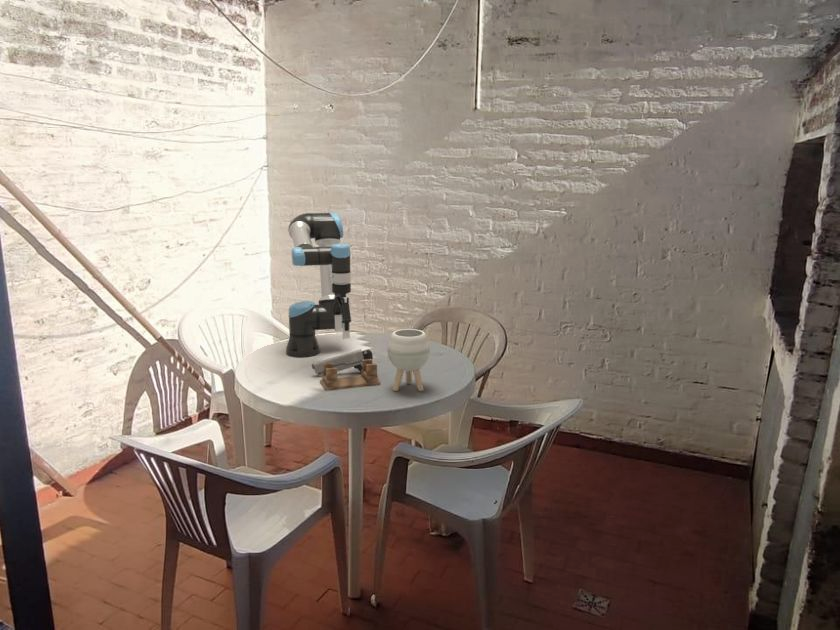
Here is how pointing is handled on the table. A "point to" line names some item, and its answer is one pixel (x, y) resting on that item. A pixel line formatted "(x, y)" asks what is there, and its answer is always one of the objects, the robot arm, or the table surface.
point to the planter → (408, 355)
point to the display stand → (365, 379)
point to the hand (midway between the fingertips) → (342, 334)
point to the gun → (344, 361)
